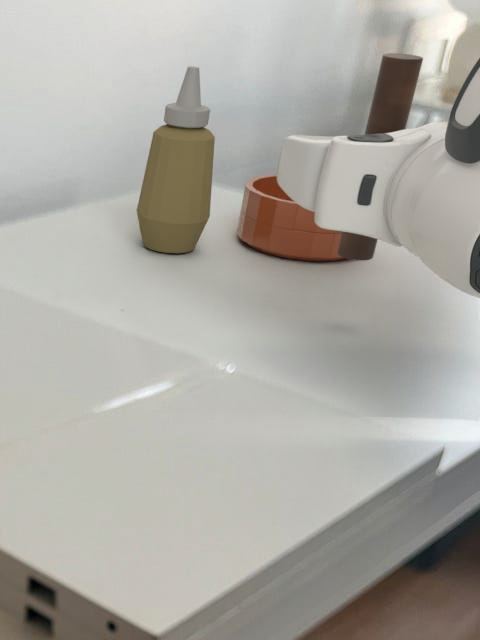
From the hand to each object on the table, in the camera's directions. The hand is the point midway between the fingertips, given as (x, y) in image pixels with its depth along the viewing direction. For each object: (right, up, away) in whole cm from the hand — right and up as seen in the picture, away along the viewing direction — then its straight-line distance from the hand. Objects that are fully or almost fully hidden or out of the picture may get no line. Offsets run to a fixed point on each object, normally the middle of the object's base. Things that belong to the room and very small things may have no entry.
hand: (376, 148), depth 90 cm
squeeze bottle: (-14, +1, +27) cm, 30 cm away
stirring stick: (0, -8, +5) cm, 9 cm away
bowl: (+2, +3, +30) cm, 31 cm away
